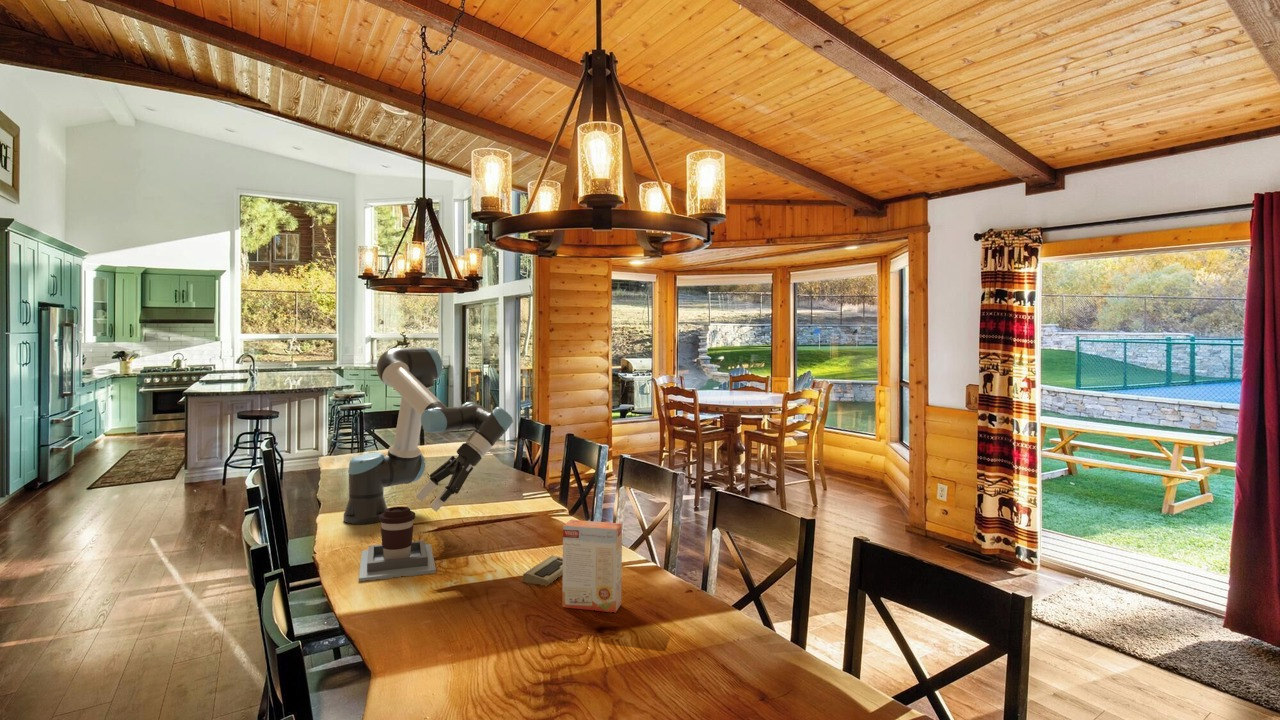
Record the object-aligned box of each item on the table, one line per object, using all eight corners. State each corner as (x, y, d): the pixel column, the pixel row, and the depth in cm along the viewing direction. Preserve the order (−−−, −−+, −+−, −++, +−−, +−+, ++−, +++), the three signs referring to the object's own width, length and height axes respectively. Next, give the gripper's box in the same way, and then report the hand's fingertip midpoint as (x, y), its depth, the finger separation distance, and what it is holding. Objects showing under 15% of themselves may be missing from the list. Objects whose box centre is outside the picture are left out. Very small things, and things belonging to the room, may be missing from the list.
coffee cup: (378, 566, 180) (378, 514, 179) (379, 555, 189) (379, 506, 189) (415, 563, 183) (415, 511, 183) (414, 552, 193) (414, 503, 192)
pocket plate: (362, 553, 194) (362, 542, 194) (430, 546, 201) (430, 535, 201) (358, 582, 171) (358, 569, 171) (435, 573, 179) (435, 560, 179)
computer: (547, 588, 170) (548, 576, 170) (521, 583, 173) (522, 571, 173) (574, 568, 185) (574, 557, 185) (550, 564, 188) (550, 553, 188)
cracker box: (622, 604, 160) (623, 522, 159) (615, 614, 154) (617, 529, 153) (569, 598, 163) (570, 518, 162) (561, 607, 157) (562, 524, 156)
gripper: (497, 464, 190) (448, 521, 182) (467, 451, 210) (421, 502, 202) (480, 448, 187) (429, 505, 178) (451, 436, 207) (404, 487, 199)
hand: (425, 503), depth 190 cm, fingers open, 13 cm apart
